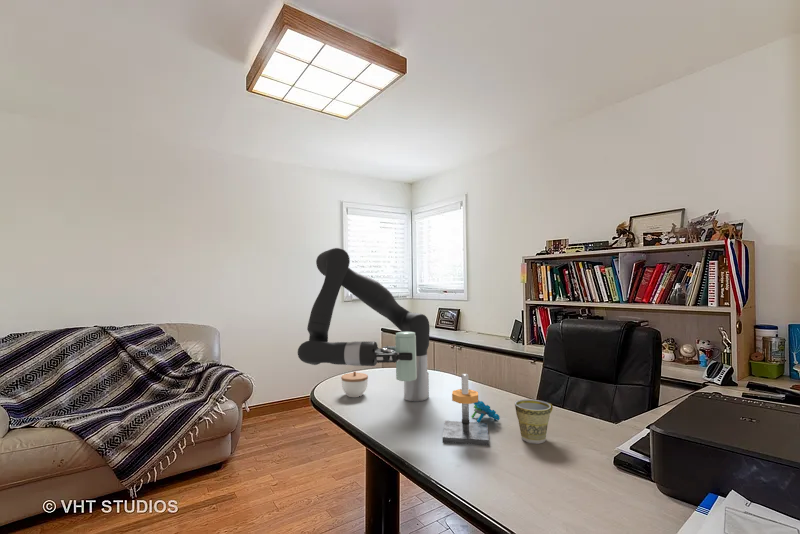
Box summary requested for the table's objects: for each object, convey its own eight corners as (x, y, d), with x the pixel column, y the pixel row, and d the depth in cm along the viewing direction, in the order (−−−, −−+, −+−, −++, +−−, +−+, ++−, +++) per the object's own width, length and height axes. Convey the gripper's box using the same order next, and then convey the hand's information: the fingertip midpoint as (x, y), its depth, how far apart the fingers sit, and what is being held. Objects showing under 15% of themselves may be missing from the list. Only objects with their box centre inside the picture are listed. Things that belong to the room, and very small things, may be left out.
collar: (452, 395, 122) (452, 388, 122) (477, 396, 121) (477, 389, 121) (451, 403, 114) (451, 396, 114) (478, 404, 113) (478, 397, 113)
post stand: (445, 425, 125) (444, 368, 125) (486, 427, 122) (486, 370, 123) (442, 442, 112) (441, 379, 112) (489, 445, 110) (488, 380, 110)
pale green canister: (398, 375, 124) (397, 331, 125) (417, 376, 123) (416, 331, 123) (395, 380, 118) (394, 334, 119) (414, 381, 117) (413, 334, 118)
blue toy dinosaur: (506, 419, 125) (485, 399, 123) (496, 435, 123) (475, 414, 121) (488, 413, 135) (468, 394, 134) (478, 427, 133) (458, 408, 132)
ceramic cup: (533, 449, 107) (533, 412, 107) (508, 436, 116) (507, 402, 116) (566, 439, 113) (565, 404, 113) (539, 428, 122) (539, 395, 122)
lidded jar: (371, 391, 162) (371, 369, 163) (363, 399, 152) (363, 375, 152) (346, 390, 165) (346, 368, 165) (337, 398, 154) (337, 374, 154)
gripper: (354, 345, 116) (410, 346, 113) (366, 337, 131) (416, 338, 128) (355, 371, 116) (410, 372, 113) (367, 360, 130) (417, 361, 128)
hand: (413, 354), depth 121 cm, fingers closed on pale green canister, 6 cm apart
